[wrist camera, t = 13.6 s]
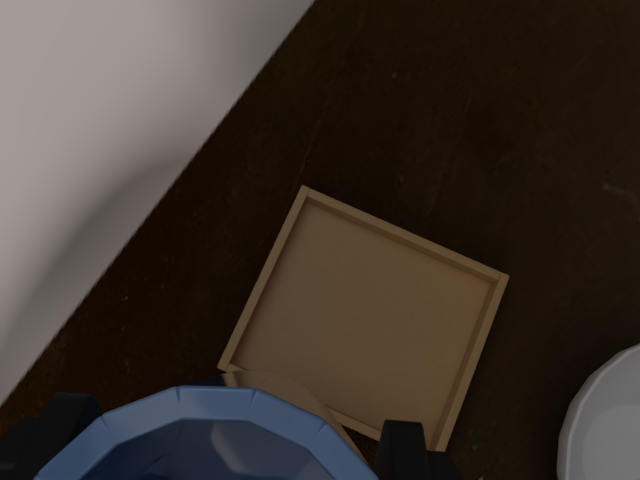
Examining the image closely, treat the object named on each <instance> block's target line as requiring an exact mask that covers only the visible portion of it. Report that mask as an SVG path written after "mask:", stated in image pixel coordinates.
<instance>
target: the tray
mask: <svg viewBox="0 0 640 480" xmlns="http://www.w3.org/2000/svg"><path fill="white" fill-rule="evenodd" d="M508 279H509V275H506V274H504V273H501V272H499V271H497V270H495V269H493V268H490V267H488V266H486V265H483V264H481V263H479V262H477V261H474V260H472V259H470V258H468V257H465V256H463V255H461V254H458V253H456V252H454V251H452V250H449V249H447V248H445V247H442V246H440V245H438V244H436V243H433V242H431V241H429V240H427V239H424V238H422V237H420V236H417V235H415V234H413V233H411V232H408V231H406V230H404V229H402V228H399V227H397V226H395V225H392V224H390V223H388V222H386V221H383V220H381V219H379V218H376V217H374V216H372V215H370V214H367V213H365V212H363V211H361V210H358V209H356V208H354V207H351V206H349V205H347V204H345V203H342V202H340V201H338V200H335V199H333V198H331V197H329V196H326V195H324V194H322V193H320V192H317V191H315V190H313V189H310V188H308V187H306V186H304V185H302V186H301V188H300V190H299V193H298V195H297V197H296V199H295V201H294V203H293V205H292V208H291V210H290V212H289V214H288V216H287V218H286V220H285V222H284V225H283V227H282V229H281V231H280V233H279V235H278V237H277V240H276V242H275V244H274V246H273V248H272V250H271V252H270V255H269V257H268V259H267V261H266V263H265V265H264V267H263V270H262V272H261V274H260V276H259V278H258V280H257V282H256V284H255V287H254V289H253V291H252V293H251V295H250V297H249V299H248V302H247V304H246V306H245V308H244V310H243V312H242V314H241V317H240V319H239V321H238V323H237V325H236V327H235V329H234V331H233V334H232V336H231V338H230V340H229V342H228V344H227V346H226V349H225V351H224V353H223V355H222V357H221V359H220V361H219V364H218V366H217V368H218V369H221V370H223V371H226V372H227V373H229V372H233V371H238V370H244V371H253V370H258V371H272V372H277V373H279V374H281V375H283V376H286V377H288V378H291V379H293V380H295V381H297V382H298V383H300V384H302V385H305V386H306V387H307V388H309V389H310V390H311V391H312V392H313V393H314V394H315V395H316V396H317V397H318V398H319V399H320V401H321V402H322V403H323V404H324V405H325V406H326V407H327V408H328V410H329V411H330V412H331V413H332V414H333V415H334V417H335V418H336V420H337V421H338V422H339V423H340V424H342V425H344V426H346V427H349V428H351V429H353V430H355V431H357V432H360V433H362V434H364V435H366V436H368V437H371V438H373V439H375V440H377V441H380V436H381V432H382V428H383V424H384V421H385V420H386V419H388V420H401V421H413V422H421V424H422V426H423V429H424V435H425V442H426V448H427V450H429V451H442V452H445V449H446V447H447V444H448V441H449V439H450V436H451V433H452V430H453V428H454V425H455V422H456V420H457V417H458V414H459V412H460V409H461V406H462V403H463V401H464V398H465V395H466V393H467V390H468V387H469V385H470V382H471V379H472V376H473V374H474V371H475V368H476V366H477V363H478V360H479V357H480V355H481V352H482V349H483V347H484V344H485V341H486V339H487V336H488V333H489V330H490V328H491V325H492V322H493V320H494V317H495V314H496V312H497V309H498V306H499V303H500V301H501V298H502V295H503V293H504V290H505V287H506V285H507V282H508Z"/></svg>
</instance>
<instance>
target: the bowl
mask: <svg viewBox="0 0 640 480" xmlns="http://www.w3.org/2000/svg"><path fill="white" fill-rule="evenodd" d="M557 477H558V480H640V344H637V345H635V346H632V347H630V348H628V349H625V350H623V351H620V352H618V353H617V354H616V355H614V356H613V357H612V358H611V359H610V360H608V361H607V362H606V363H605V364H603V365H602V366H601V367H600V368H599V369H597V370H596V371H595V372H594V373H592V374H591V375H590V376H589V377H588V378H587V380H586V381H585V383H584V384H583V386H582V387H581V388H580V390H579V391H578V393H577V394H576V396H575V397H574V399H573V400H572V401H571V403H570V405H569V408H568V411H567V414H566V417H565V420H564V423H563V426H562V429H561V432H560V435H559V444H558V457H557Z"/></svg>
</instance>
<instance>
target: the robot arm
mask: <svg viewBox="0 0 640 480" xmlns="http://www.w3.org/2000/svg"><path fill="white" fill-rule="evenodd" d="M100 416H101V412H100V407H99V402H98V398H97V396H96V395H91V394H79V393H66V392H57V393H55V394H54V395H53V397H52V398H51V399H50V401H49V403H48V405H47V407H46V409H45V410H44V412H43V414H42V416H41V418H40V419H39V418H26V417H24V418H23V419H22V420H21V421H20V422H19V423H18V424H16V425H15V426H14V427H13V428H12V429H11V430H10V431H9V432H8V433H6V434H5V435H4V436H3V437H2V438H1V439H0V480H33V479H34V477H35V476H36V475H37V474H38V473H39V471H40V469H41V468H42V467H44V466H45V465H46V464H47V463H48V462H49V461H50V460H51V459H52V458H54V457H55V456H56V455H57V454H58V453H59V452H60V451H61V450H62V449H63V448H65V447H66V446H67V445H68V444H69V443H70V442H71V441H72V440H73V439H75V438H76V437H77V436H78V435H79V434H80V433H81V432H82V431H83V430H85V429H86V428H87V427H88V426H89V425H90V424H91V423H92V422H93V421H94V420H96V419H97V418H98V417H100ZM373 470H374V472H375V473H376V475H377V476H378V478H379V480H462V478H461V475H460V473H459V472H458V470H457V468H456V467H455V465H454V464H453V462H452V460H451V459H450V457H449V456H448V454H447V452H442V451H429V450H427V448H426V442H425V435H424V429H423V426H422V424H421V422H413V421H401V420H388V419H386V420H385V421H384V424H383V428H382V432H381V436H380V441H379V445H378V449H377V453H376V458H375V462H374V468H373Z"/></svg>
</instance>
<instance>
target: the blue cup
mask: <svg viewBox="0 0 640 480" xmlns="http://www.w3.org/2000/svg"><path fill="white" fill-rule="evenodd" d="M33 480H379V478H378V476H377V475H376V473H375V472H374V470H373V469H372V468H371V466H370V465H369V464H368V462H367V461H366V459H365V458H364V457H363V455H362V454H361V453H360V451H359V450H358V448H357V447H356V446H355V444H354V443H353V442H352V440H351V439H350V437H349V436H348V435H347V433H346V432H345V431H344V429H343V428H342V426H341V425H340V424H339V422H338V421H337V420H336V418H335V417H334V415H333V414H332V413H331V412H330V411H329V410H328V408H327V407H326V406H325V405H324V404H323V403H322V402H321V401H320V399H319V398H318V397H317V396H316V395H315V394H314V393H313V392H312V391H311V390H310V389H309V388H307V387H306V386H305V385H302V384H300V383H298V382H297V381H295V380H293V379H291V378H288V377H286V376H283V375H281V374H279V373H277V372H272V371H258V370H253V371H244V370H238V371H233V372H229V373H225V374H221V375H217V376H213V377H209V378H205V379H201V380H197V381H193V382H189V383H186V384H182V385H178V386H174V387H171V388H169V389H166V390H163V391H161V392H158V393H156V394H153V395H150V396H148V397H145V398H143V399H140V400H137V401H135V402H132V403H129V404H127V405H124V406H122V407H119V408H116V409H114V410H111V411H109V412H106V413H104V414H103V415H102V416H100V417H98V418H97V419H96V420H94V421H93V422H92V423H91V424H90V425H89V426H88V427H87V428H86V429H85V430H83V431H82V432H81V433H80V434H79V435H78V436H77V437H76V438H75V439H73V440H72V441H71V442H70V443H69V444H68V445H67V446H66V447H65V448H63V449H62V450H61V451H60V452H59V453H58V454H57V455H56V456H55V457H54V458H52V459H51V460H50V461H49V462H48V463H47V464H46V465H45V466H44V467H42V468H41V469H40V471H39V473H38V474H37V475H36V476H35V477H34V479H33Z"/></svg>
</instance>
